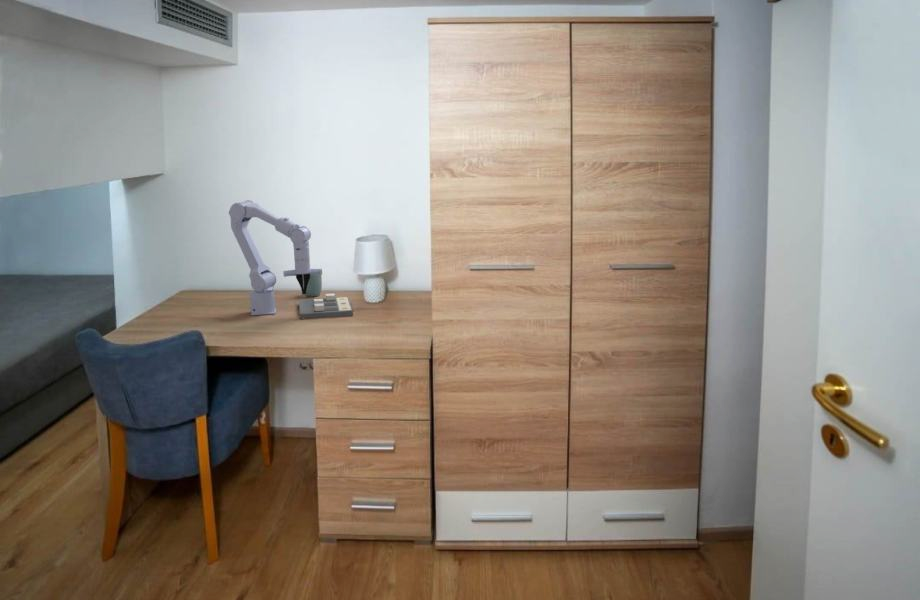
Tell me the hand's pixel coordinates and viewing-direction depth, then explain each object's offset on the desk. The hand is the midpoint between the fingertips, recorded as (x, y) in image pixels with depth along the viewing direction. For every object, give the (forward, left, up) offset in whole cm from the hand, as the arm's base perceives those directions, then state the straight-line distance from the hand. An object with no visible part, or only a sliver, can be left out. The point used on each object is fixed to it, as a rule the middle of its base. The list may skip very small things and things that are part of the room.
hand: (304, 293), depth 312 cm
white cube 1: (+5, -2, -6) cm, 9 cm away
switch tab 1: (+5, +6, -6) cm, 10 cm away
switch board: (+8, +6, -8) cm, 13 cm away
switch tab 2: (+11, +14, -6) cm, 18 cm away
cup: (+4, +32, -9) cm, 33 cm away
